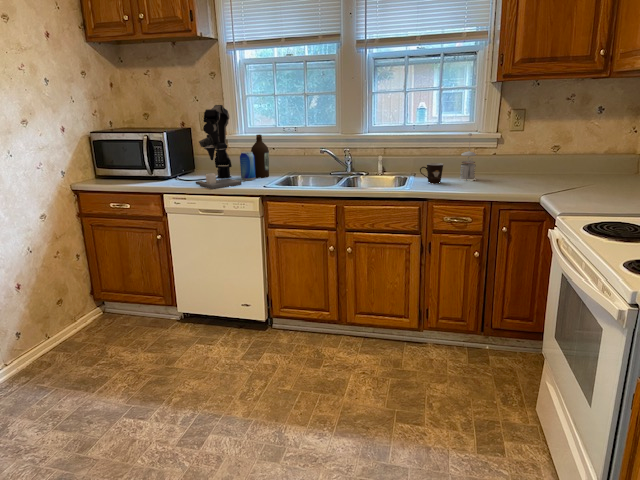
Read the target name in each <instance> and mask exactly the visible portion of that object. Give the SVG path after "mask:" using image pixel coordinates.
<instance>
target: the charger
mask: <svg viewBox="0 0 640 480" xmlns="http://www.w3.org/2000/svg"><path fill="white" fill-rule="evenodd" d="M216 180H217V174H216V173H213V172H210V173H206V174H205V182H206V183H207V184H213V183H216Z"/></svg>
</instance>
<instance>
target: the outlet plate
mask: <svg viewBox="0 0 640 480" xmlns="http://www.w3.org/2000/svg"><path fill="white" fill-rule="evenodd" d="M199 186H200V187H202V188H206V189H209V190H216V189H217V190H218V189H225V188H229V186H231V187H236V186H242V181H241V180H237V179H233V178H230V177H229V178H220V179H216V183H213V184H207V183H206V181H204V182H200V185H199Z"/></svg>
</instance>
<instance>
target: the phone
mask: <svg viewBox="0 0 640 480" xmlns="http://www.w3.org/2000/svg"><path fill="white" fill-rule="evenodd" d="M200 182H205V181H204V180H198V181H197V180H196V181H195V184H196V185H199V186H200Z"/></svg>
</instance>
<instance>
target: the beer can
mask: <svg viewBox="0 0 640 480" xmlns="http://www.w3.org/2000/svg"><path fill="white" fill-rule="evenodd" d="M239 167H240V177H241V179H242V181H244V182H245V181H255V179H256V178H255V177H256V175H255V159H254V155H253V153H252V152H251V151H241V152H240V155H239Z"/></svg>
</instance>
